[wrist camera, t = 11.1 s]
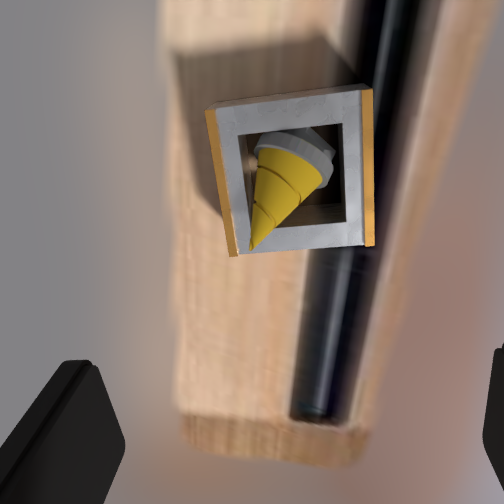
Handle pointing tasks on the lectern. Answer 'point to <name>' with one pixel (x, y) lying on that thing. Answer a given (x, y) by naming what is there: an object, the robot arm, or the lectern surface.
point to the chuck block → (290, 117)
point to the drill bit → (286, 175)
